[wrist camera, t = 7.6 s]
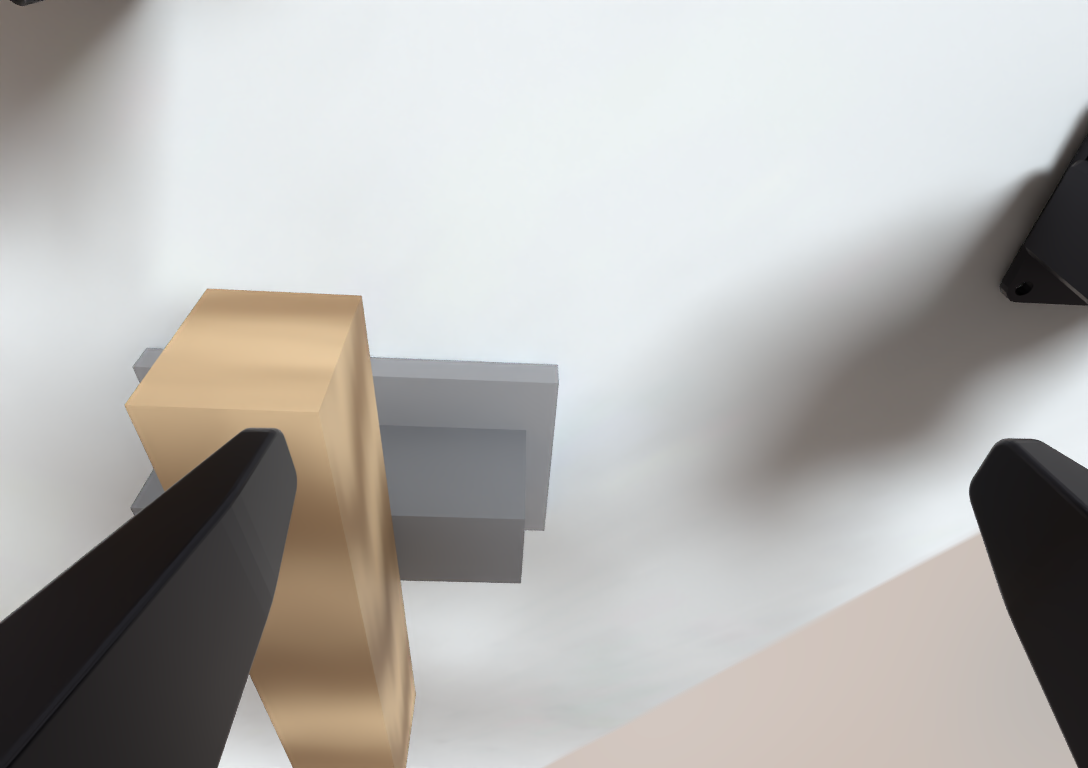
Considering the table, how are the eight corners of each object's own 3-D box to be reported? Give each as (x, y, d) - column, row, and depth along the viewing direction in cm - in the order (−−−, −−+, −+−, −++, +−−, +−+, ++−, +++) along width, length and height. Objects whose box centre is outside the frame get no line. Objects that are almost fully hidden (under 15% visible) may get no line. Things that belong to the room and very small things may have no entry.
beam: (207, 288, 15) (124, 405, 12) (361, 296, 15) (318, 412, 12) (332, 693, 28) (307, 799, 25) (415, 694, 28) (401, 800, 25)
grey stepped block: (557, 365, 23) (562, 471, 19) (543, 511, 28) (545, 618, 24) (146, 348, 22) (66, 455, 19) (208, 501, 28) (156, 610, 24)
